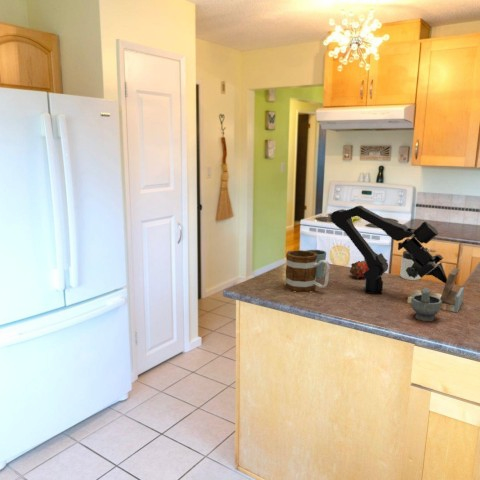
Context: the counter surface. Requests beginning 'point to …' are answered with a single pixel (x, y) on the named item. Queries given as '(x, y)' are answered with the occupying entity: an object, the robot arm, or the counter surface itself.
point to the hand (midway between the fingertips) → (446, 282)
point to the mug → (303, 271)
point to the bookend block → (450, 288)
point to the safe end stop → (459, 299)
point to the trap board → (444, 305)
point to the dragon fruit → (359, 269)
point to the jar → (406, 263)
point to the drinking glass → (320, 268)
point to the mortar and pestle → (425, 305)
